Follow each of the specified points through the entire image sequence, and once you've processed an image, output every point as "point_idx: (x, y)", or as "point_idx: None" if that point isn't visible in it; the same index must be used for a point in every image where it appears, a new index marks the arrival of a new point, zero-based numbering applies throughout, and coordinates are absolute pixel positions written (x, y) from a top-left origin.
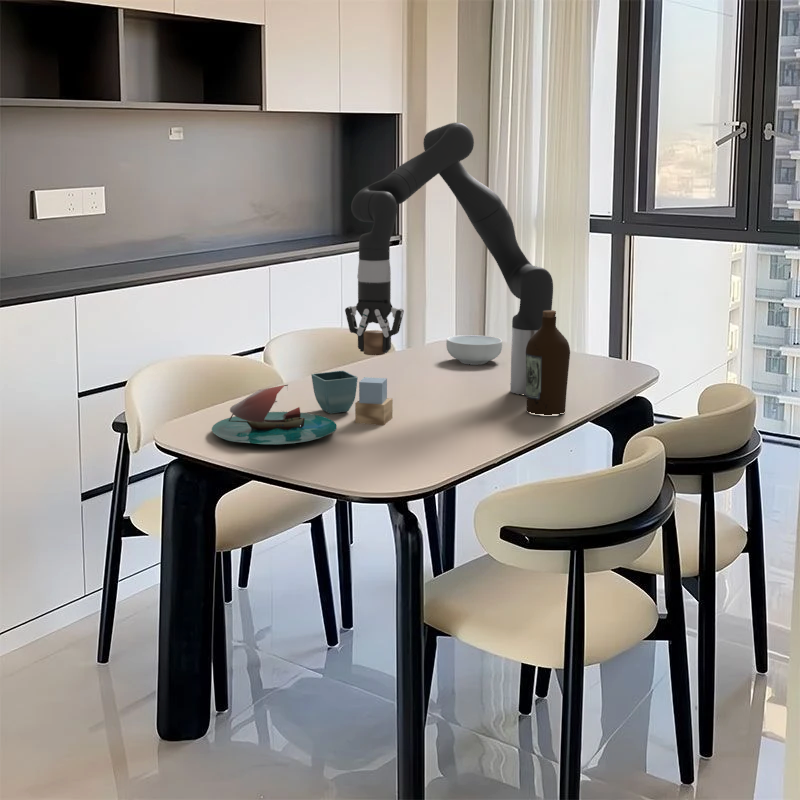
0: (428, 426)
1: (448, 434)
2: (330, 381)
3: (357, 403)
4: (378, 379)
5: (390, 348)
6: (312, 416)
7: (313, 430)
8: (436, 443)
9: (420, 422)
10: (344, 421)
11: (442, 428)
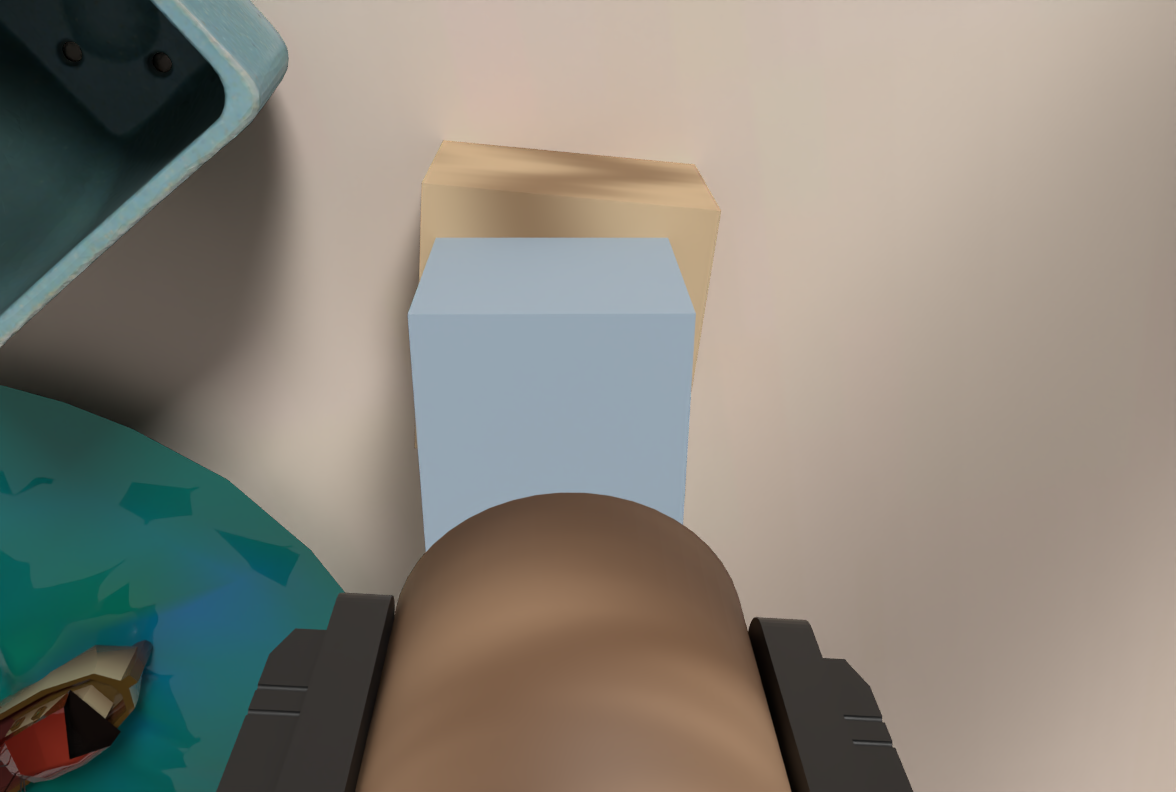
0: (996, 358)
1: (1124, 521)
2: (16, 329)
3: None
4: (606, 397)
5: (856, 677)
6: (101, 457)
7: None
8: (1032, 701)
9: (935, 258)
10: (338, 345)
11: (1097, 390)
